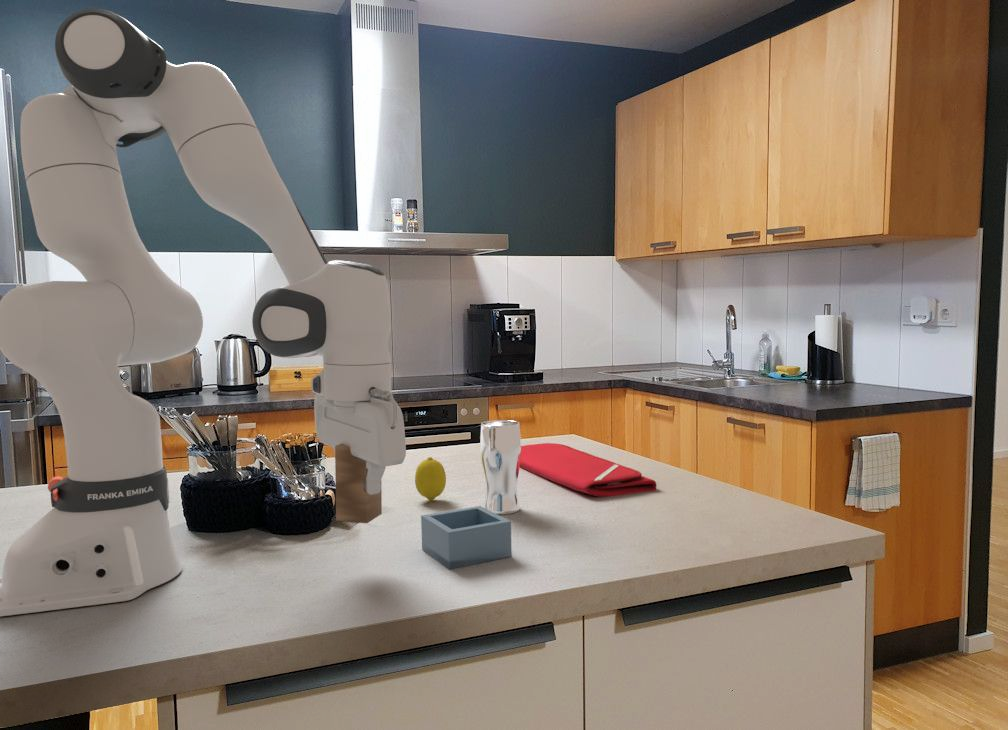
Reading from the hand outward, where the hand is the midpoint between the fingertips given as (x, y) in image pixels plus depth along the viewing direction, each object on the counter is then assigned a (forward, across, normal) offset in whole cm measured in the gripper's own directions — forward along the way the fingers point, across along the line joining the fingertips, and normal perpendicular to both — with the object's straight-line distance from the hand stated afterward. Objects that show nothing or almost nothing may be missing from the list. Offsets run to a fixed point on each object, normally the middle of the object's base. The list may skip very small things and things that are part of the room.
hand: (359, 486), depth 101 cm
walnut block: (+4, 0, 0) cm, 4 cm away
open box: (+11, -4, -14) cm, 18 cm away
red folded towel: (+12, +24, -59) cm, 65 cm away
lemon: (+12, +23, -25) cm, 36 cm away
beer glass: (+11, +10, -32) cm, 35 cm away
